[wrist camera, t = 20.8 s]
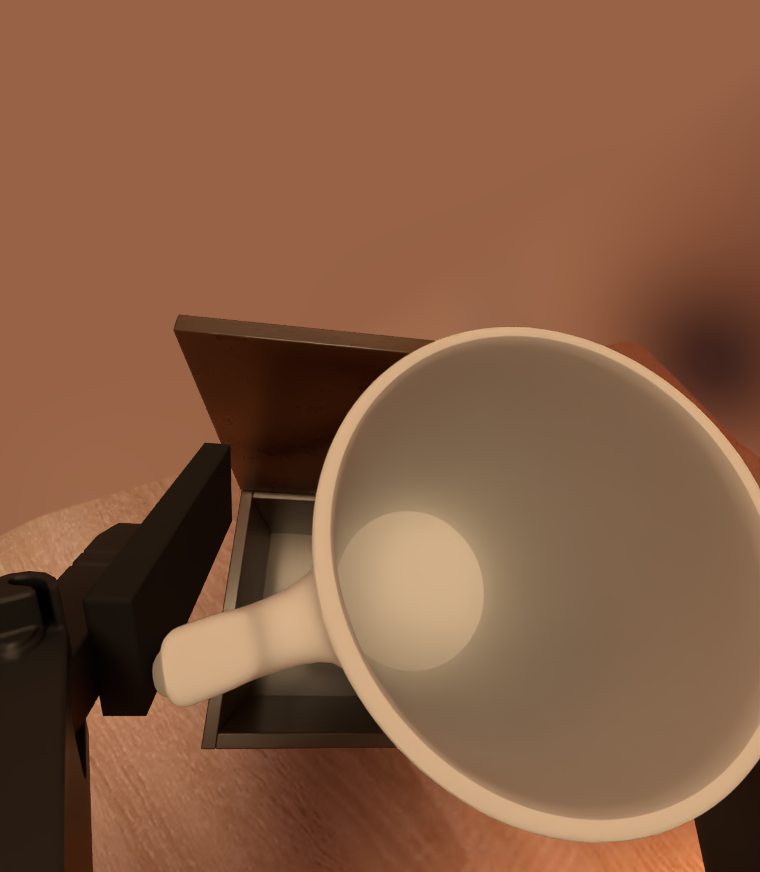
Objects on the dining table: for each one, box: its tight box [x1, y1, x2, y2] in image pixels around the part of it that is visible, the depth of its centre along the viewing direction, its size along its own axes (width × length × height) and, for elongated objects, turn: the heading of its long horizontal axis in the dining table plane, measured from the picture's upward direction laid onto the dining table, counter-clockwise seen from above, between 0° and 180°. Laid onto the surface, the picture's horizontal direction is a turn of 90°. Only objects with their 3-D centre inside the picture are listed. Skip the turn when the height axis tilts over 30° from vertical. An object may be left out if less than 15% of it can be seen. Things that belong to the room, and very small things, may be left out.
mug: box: [152, 327, 760, 843], centre depth 11 cm, size 10×7×12 cm, turn 109°
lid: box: [174, 315, 435, 494], centre depth 24 cm, size 16×16×1 cm
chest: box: [201, 490, 397, 749], centre depth 35 cm, size 16×16×14 cm
